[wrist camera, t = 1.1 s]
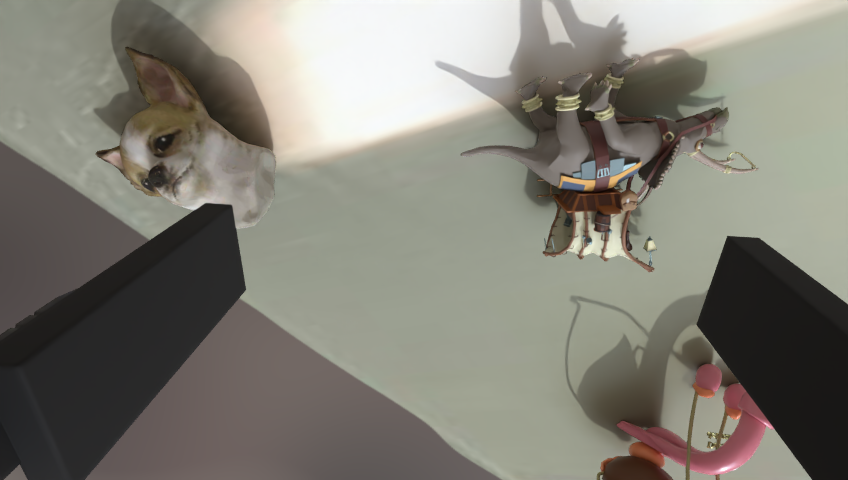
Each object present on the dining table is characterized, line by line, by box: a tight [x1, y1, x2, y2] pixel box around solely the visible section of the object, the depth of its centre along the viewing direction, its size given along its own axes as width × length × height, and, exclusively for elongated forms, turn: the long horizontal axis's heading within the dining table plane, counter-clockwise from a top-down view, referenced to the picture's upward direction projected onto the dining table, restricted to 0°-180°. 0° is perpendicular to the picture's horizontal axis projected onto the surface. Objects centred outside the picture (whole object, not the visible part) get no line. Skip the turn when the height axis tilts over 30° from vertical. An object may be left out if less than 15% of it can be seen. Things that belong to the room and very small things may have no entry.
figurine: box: [461, 58, 759, 272], centre depth 34 cm, size 20×6×17 cm
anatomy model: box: [597, 364, 774, 480], centre depth 42 cm, size 10×14×15 cm
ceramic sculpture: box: [95, 47, 276, 229], centre depth 35 cm, size 11×9×15 cm
